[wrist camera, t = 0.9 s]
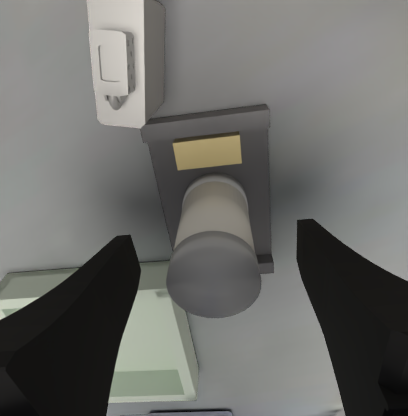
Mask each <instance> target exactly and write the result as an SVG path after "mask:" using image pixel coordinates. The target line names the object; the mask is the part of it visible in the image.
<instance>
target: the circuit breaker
mask: <svg viewBox="0 0 408 416" xmlns="http://www.w3.org/2000/svg"><path fill="white" fill-rule="evenodd" d="M87 8H88V19H89V30H90V31H89V42H90V53H91V64H92V75H93V86H94V92H95V97H96V108H97V119H98V120H99V121H100V122H101V123H102V125H111V126H122V127H132V128H141V127H142V126H144V125H145V124H146V122H147V121H148V120H149V119H150V118H151V116H152V115H153V114H154V113H155V112H156V111H157V109H158V108H159V107H160V106H161V105H162V103H163V102H164V58H165V8H164V7H163V5H162V4H161V3H159V2H157V1H156V0H87Z"/></svg>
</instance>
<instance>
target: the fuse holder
mask: <svg viewBox="0 0 408 416" xmlns="http://www.w3.org/2000/svg"><path fill="white" fill-rule="evenodd" d="M269 127H270V109H269V108H268V107H267V105H266V104H264V105H256V106H249V107H241V108H233V109H225V110H217V111H210V112H202V113H194V114H186V115H179V116H171V117H163V118H155V119H149V120H148V121H147V122H146V124H145V125H144V126H142V127H141V128H140V131H141V136H142V140H143V143H144V142H148V146H149V150H150V154H151V159H152V163H153V167H154V172H155V176H156V180H157V185H158V189H159V194H160V198H161V202H162V207H163V211H164V215H165V220H166V224H167V228H168V233H169V237H170V241H171V246H172V250H173V251H174V246H175V241H176V237H177V232H178V227H179V222H180V218H181V213H182V204H183V199H184V194H185V191H186V189H187V187H188V186H189V184H190V183H191V182H192V181H193V180H194V179H196V178H197V177H199V176H201V175H203V174H207V173H215V172H216V173H223V174H227V175H229V176H231V177H233V178H235V179H236V180H237V181H238V182H239V183H240V184H241V185H242V186H243V188H244V190H245V193H246V197H247V202H248V214H249V220H250V226H251V232H252V238H253V244H254V250H255V254H256V257H257V260H258V265H259V271H260V274H267V273H274V262H273V258H272V254H271V222H270V189H269V156H268V128H269Z"/></svg>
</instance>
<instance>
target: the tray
mask: <svg viewBox="0 0 408 416" xmlns="http://www.w3.org/2000/svg"><path fill="white" fill-rule="evenodd" d="M169 263H170V261H158V262H146V263H139V264H140V268H141V275H140V281H139V286H138V291H137V294H136V297H135V301H134V304H133V307H132V310H131V313H130V316H129V318H128V321H127V324H126V327H125V330H124V333H123V336H122V340H121V343H120V347H119V351H118V356H117V360H116V365H115V370H114V375H113V380H112V385H111V390H110V395H109V401H108V403H121V402H155V401H189V400H197V391H198V374H199V367H198V363H197V359H196V355H195V350H194V346H193V342H192V337H191V333H190V329H189V325H188V320H187V316H186V312H185V310H184V309H182V308H181V307H179V306H178V305H177V304H176V303H175V302H174V301H173V300H172V298H171V297H170V295H169V293H168V290H167V286H166V278H167V273H168V268H169ZM78 269H79V268H69V269H56V270H44V271H31V272H18V273H8V274H7V275H6V276H5V277H4V278H3V279H2V281H1V282H0V320H1V319H3V318H5V317H7V316H8V315H10V314H12V313H14V312H16V311H18V310H20V309H21V308H23V307H25V306H26V305H28V304H30V303H31V302H33V301H35V300H36V299H38V298H40V297H41V296H43V295H44V294H46V293H47V292H49V291H50V290H52V289H53V288H55V287H56V286H57V285H59V284H60V283H62V282H63V281H64V280H66V279H67V278H68V277H69V276H71V275H72V274H73V273H74V272H75V271H77V270H78Z"/></svg>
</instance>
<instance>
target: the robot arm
mask: <svg viewBox="0 0 408 416" xmlns="http://www.w3.org/2000/svg"><path fill="white" fill-rule="evenodd" d="M297 263H298V267H299V271H300V274H301V278H302V281H303V284H304V286H305V289H306V291H307V294H308V296H309V299H310V301H311V304H312V306H313V309H314V311H315V313H316V316H317V318H318V321H319V323H320V326H321V329H322V332H323V334H324V337H325V341H326V344H327V348H328V351H329V355H330V358H331V362H332V365H333V369H334V373H335V376H336V380H337V384H338V388H339V391H340V395H341V399H342V403H343V407H344V411H345V415H346V416H408V281H406V280H404V279H402V278H400V277H398V276H396V275H394V274H392V273H390V272H388V271H386V270H384V269H382V268H381V267H379V266H377V265H375V264H374V263H372V262H370V261H369V260H367V259H365V258H364V257H362V256H361V255H359V254H358V253H356V252H355V251H353V250H352V249H350V248H349V247H348V246H346V245H345V244H344V243H342V242H341V241H340V240H338V239H337V238H336V237H334V236H333V235H332V234H331V233H329V232H328V231H327V230H326V229H324V228H323V227H322V226H321V225H320V224H318V223H317V222H316V221H315V220H313V219H304V220H297ZM140 275H141V268H140V264H139V261H138V258H137V255H136V251H135V248H134V245H133V242H132V238H131V235H122V236H116V237H115V238H114V239H113V240H111V241H110V242H109V243H108V244H107V245H106V246H105V247H103V248H102V249H101V250H100V251H99V252H98V253H97V254H96V255H94V256H93V257H92V258H91V259H90V260H89V261H88V262H86V263H85V264H84V265H83V266H82V267H80V268H79V269H78V270H77V271H75V272H74V273H73V274H72V275H71V276H69V277H68V278H67V279H66V280H64V281H63V282H62V283H60V284H59V285H57V286H56V287H55V288H53V289H52V290H50V291H49V292H47V293H46V294H44V295H43V296H41V297H40V298H38V299H36V300H35V301H33V302H31V303H30V304H28V305H26V306H25V307H23V308H21V309H20V310H18V311H16V312H14V313H12V314H10V315H8V316H7V317H5V318H3V319H1V320H0V416H106V413H107V407H108V401H109V395H110V390H111V385H112V380H113V375H114V370H115V365H116V360H117V356H118V351H119V347H120V343H121V340H122V336H123V333H124V330H125V327H126V324H127V321H128V318H129V316H130V313H131V310H132V307H133V304H134V301H135V297H136V294H137V291H138V286H139V281H140ZM122 416H233V415H232V413H231V412H229V411H210V412H171V413H150V414H146V415H122Z"/></svg>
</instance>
